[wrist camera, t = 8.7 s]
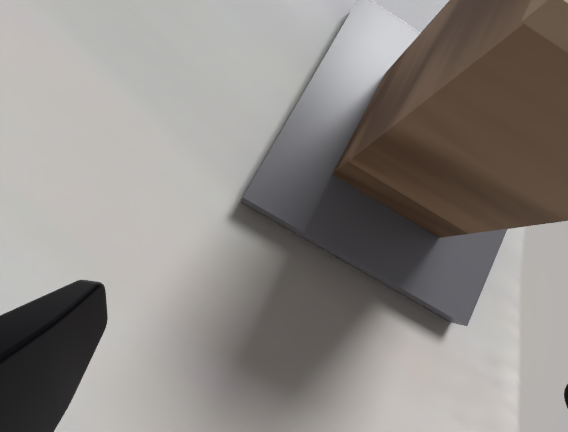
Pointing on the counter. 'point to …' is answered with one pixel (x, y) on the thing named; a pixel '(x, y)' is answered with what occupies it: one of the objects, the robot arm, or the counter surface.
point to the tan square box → (471, 121)
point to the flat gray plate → (352, 202)
